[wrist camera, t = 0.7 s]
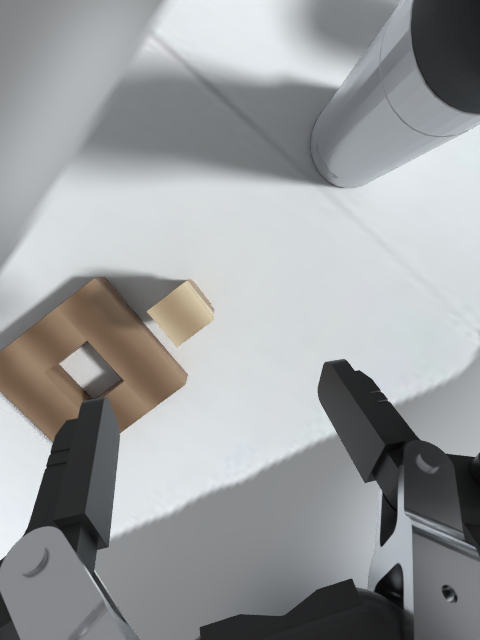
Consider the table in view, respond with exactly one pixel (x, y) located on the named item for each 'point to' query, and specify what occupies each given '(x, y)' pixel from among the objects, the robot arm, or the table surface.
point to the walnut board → (108, 340)
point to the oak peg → (182, 312)
